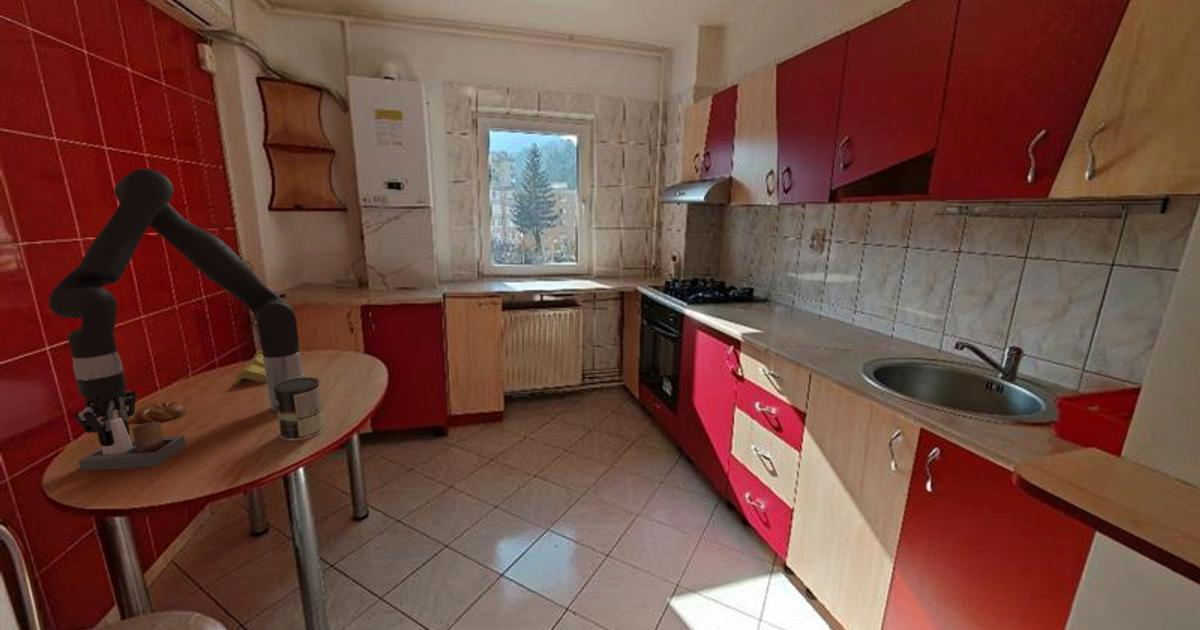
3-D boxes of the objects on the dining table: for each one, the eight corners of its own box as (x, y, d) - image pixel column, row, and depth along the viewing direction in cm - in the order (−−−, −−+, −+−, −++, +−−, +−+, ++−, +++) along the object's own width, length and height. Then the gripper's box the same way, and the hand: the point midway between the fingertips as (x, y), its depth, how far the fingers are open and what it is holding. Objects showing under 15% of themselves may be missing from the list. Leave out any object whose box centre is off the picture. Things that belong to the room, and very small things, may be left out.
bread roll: (199, 410, 141) (197, 398, 140) (164, 426, 130) (162, 414, 130) (161, 408, 142) (158, 397, 141) (123, 424, 131) (121, 412, 130)
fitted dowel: (171, 450, 115) (165, 421, 113) (156, 460, 110) (149, 430, 109) (149, 452, 114) (142, 422, 112) (133, 462, 110) (126, 431, 108)
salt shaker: (127, 456, 110) (117, 412, 107) (97, 460, 108) (86, 416, 105) (139, 445, 114) (129, 404, 112) (109, 449, 112) (99, 407, 110)
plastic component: (272, 376, 162) (239, 368, 158) (264, 395, 163) (231, 387, 158) (285, 356, 180) (255, 348, 175) (278, 373, 181) (248, 365, 176)
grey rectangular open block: (186, 448, 118) (184, 435, 117) (156, 469, 108) (153, 455, 108) (118, 452, 116) (115, 439, 115) (81, 474, 106) (78, 460, 105)
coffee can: (276, 444, 121) (268, 393, 117) (285, 427, 130) (278, 380, 127) (322, 437, 125) (315, 387, 121) (327, 421, 134) (321, 375, 131)
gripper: (107, 363, 113) (122, 428, 117) (50, 384, 99) (69, 457, 103) (142, 362, 114) (156, 426, 118) (90, 382, 100) (108, 455, 104)
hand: (115, 440), depth 110 cm, fingers closed on salt shaker, 3 cm apart
